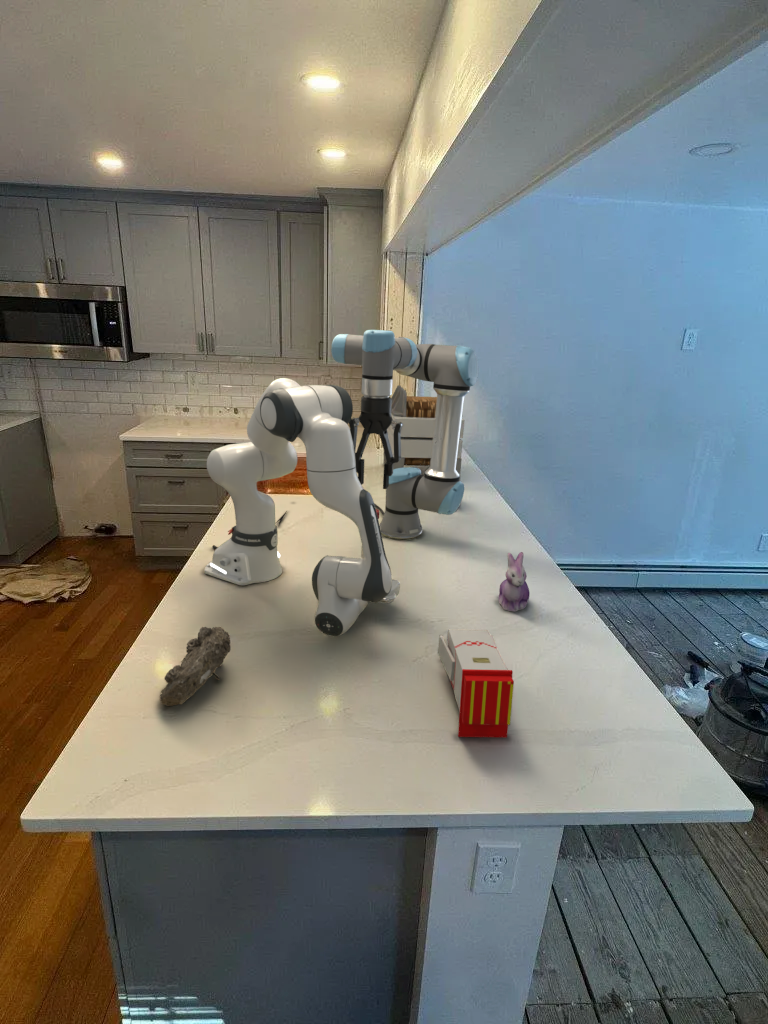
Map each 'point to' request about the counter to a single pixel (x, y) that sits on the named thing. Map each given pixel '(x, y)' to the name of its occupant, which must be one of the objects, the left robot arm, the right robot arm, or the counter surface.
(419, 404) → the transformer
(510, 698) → the toy
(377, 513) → the cap
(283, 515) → the feather
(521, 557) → the figurine
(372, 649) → the counter surface
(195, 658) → the fossil
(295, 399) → the left robot arm
